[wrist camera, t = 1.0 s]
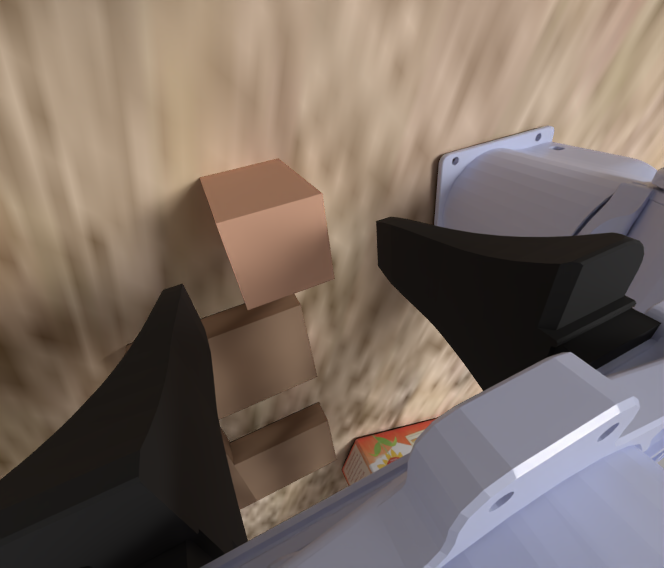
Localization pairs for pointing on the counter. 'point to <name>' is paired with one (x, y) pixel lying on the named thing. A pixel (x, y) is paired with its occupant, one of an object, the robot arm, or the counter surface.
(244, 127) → the counter surface
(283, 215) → the terracotta plug
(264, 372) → the notched board
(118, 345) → the counter surface
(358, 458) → the cracker box
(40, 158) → the counter surface
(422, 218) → the counter surface
